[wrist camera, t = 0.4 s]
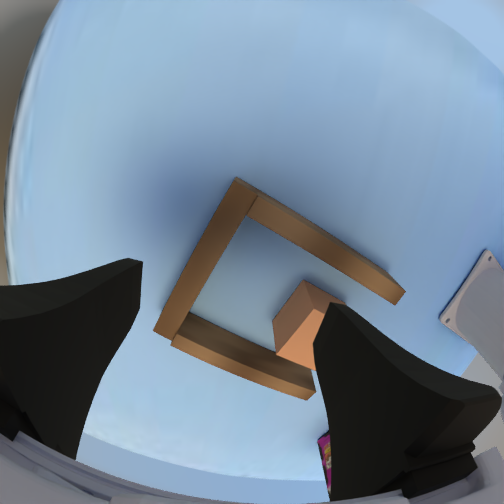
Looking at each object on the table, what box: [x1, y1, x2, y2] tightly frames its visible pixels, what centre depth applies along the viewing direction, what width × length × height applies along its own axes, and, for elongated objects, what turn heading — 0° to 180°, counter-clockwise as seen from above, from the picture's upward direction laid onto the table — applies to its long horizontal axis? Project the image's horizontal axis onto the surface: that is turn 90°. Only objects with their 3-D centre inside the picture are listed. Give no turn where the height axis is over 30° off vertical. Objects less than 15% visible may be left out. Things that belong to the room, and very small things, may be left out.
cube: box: [272, 280, 347, 371], centre depth 19 cm, size 4×4×4 cm
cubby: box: [153, 177, 406, 400], centre depth 19 cm, size 13×11×3 cm
